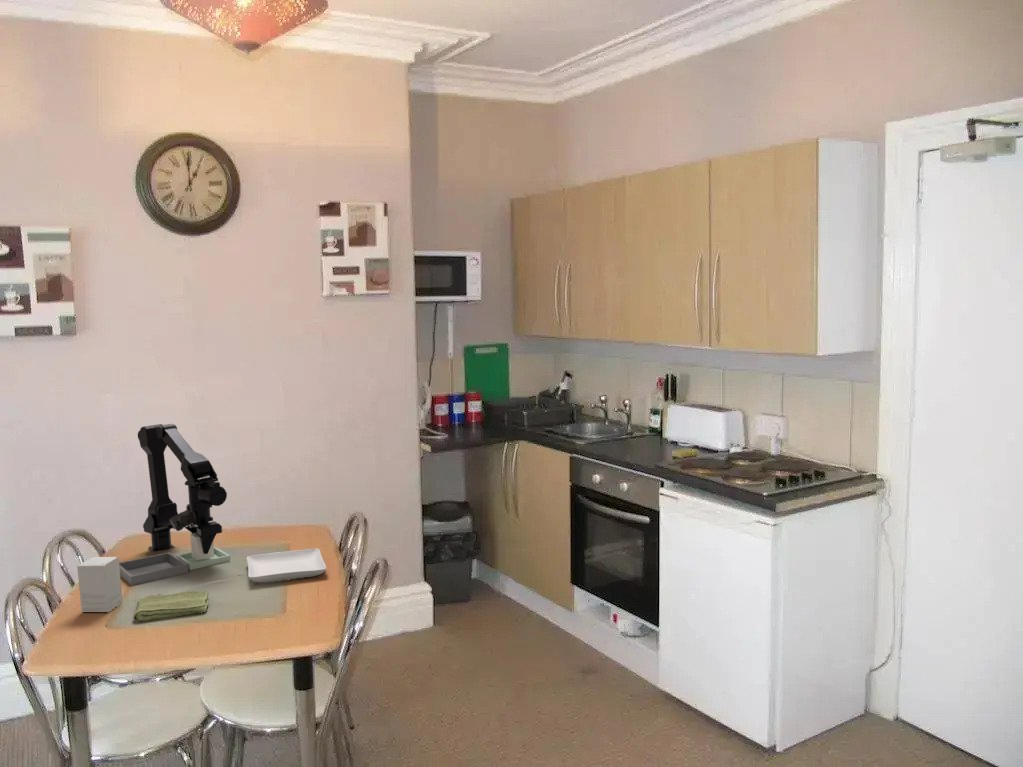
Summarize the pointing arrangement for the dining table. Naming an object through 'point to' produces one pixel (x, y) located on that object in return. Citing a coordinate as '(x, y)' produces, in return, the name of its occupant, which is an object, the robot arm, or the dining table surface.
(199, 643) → the dining table surface
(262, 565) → the salad plate
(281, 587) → the dining table surface
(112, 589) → the supplement box
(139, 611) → the washcloth
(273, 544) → the dining table surface
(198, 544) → the block
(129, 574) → the gray square tray
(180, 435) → the robot arm
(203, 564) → the holder
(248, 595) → the dining table surface
